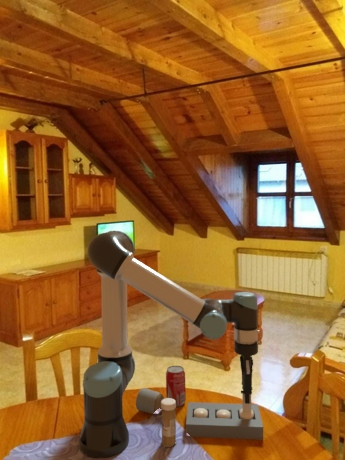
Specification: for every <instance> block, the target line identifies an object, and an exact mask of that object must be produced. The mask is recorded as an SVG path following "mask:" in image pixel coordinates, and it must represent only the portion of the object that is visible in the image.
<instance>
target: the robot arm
mask: <svg viewBox="0 0 345 460" xmlns="http://www.w3.org/2000/svg"><path fill="white" fill-rule="evenodd" d="M86 252H87V257H88V260H89V262H90V264H91V265H92V266H93V267H95V268H94V269H96V273H97V274H98V275H99V276H100V280H101V281H100V283H101V285H100V286H101V291H100V292H101V347H99V348H98V349H97V362H96V363H95V364H91V365H90V366H88V367H87V368H86V370H85V372H84V374H83V380H82V388H83V412H84V414H83V415H84V418H83V419H84V420H83V424H82V427H81V431H80V435H79V440H78V441H79V442H78V444H79V449H80V451H81V453H82V454H84V455H86V456H87V457H91V458H98V459H100V458H101V459H103V458H109V457H112V456H116V455H117V454H119V453H121V452H123V451H124V450H125V449H126V448H127V447H128V445H129V443H130V434H129V433H130V432H129V429H128V426H127V424H126V421H125V418H124V415H123V413H124V411H123V409H124V407H123V406H124V405H123V396H124V393H125V391H126V389H127V387H128V385H129V384H130V382H131V380H132V379H133V377H134V374H135V370H136V362H135V359H134V356H133V349H132V347H131V346H130V345H129V343H128V285H129V286H131V287H132V288H133V289H135V290H137V291H139V292H140V293H142V294H144V295H145V296H147V297H148V298H150V299H151V300H153V301H155V302H156V303H158V304H160V305H162V306H163V307H165V308H166V309H167V310H170V311H171V312H173V313H175V314H176V315H177V316H179V317H181V318H182V319H184V320H186V321H187V322H189V323H190V324H192V325H193V326H195V327H197V328H198V329H199V330H200V332H201V333H202V334H203V336H204V337H205V338H206V339H210V340H217V339H220V338H222V337H223V336H224V335H225V332H226V331H227V327H228V323H233V324H234V326H233V339H234V344H233V345H234V352H235V353H236V354H237V355H240V356H239V362H240V370H241V371H240V372H241V385H242V387H241V389H242V390H241V391H240V394H242V395H241V397H242V398H241V399H242V404H243V412H251V404H252V394H253V391H252V390H253V371H254V370H253V366H254V359H253V356H255V355H257V354H258V352H259V342H258V340H259V339H258V337H259V334H260V332H261V331H260V330H258V329H259V328H258V326H259V324H258V318H259V317H258V315H259V311H258V309H259V307H258V297H257V295H256V294H255V293H253V292H250V291H241V292H240V291H239V292H235V293H234V294H233V298H226V299H225V298H204V299H203V298H201V297H198V296H197V295H195V294H194V293H192V292H190V291H189V290H187V289H186V288H184V287H183V286H181V285H179V284H178V283H175V282H174V281H172V280H171V279H170V278H168V277H167V276H164V275H163V274H161V273H159V272H157V270H155V269H152V268H151V267H150V266H148V265H146V264H145V263H143V262H142V261H139V260H138V259H137V258H135V257H134V254H135V253H134V252H135V243H134V242H133V239H132V237H130V235H128V233H126V232H124V231H120V230H110V231H107V232H102V233H99V234H97V235H95V236H94V237H92V239H91V240H90V241H89V243H88V246H87V251H86Z"/></svg>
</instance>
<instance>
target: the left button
mask: <svg viewBox="0 0 345 460" xmlns="http://www.w3.org/2000/svg"><path fill="white" fill-rule="evenodd" d="M194 417H200V418H208V411H207V410H206V409H203V408H198V409H195V410H194Z"/></svg>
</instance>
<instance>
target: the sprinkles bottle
mask: <svg viewBox="0 0 345 460" xmlns="http://www.w3.org/2000/svg"><path fill="white" fill-rule="evenodd" d="M176 408H177V407H176V401H175V400H174V399H172V398H165V397H164V399H163V400H162V401H161V409H162V411H161V445H162V446H163V447H165V448H172V447H174V446H175V445H176V444H175V442H176V443H177V438H176V437H177V436H176V435H177V434H176V433H177V428H176V427H177V421H176V420H177V417H176ZM174 444H175V445H174ZM173 445H174V446H173ZM171 446H172V447H171Z"/></svg>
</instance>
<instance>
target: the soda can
mask: <svg viewBox="0 0 345 460" xmlns="http://www.w3.org/2000/svg"><path fill="white" fill-rule="evenodd" d="M165 387H166V388H165V389H166V390H165V391H166V392H165V394H166V395H165V397H166V398H172V399H174V400H175V401H176V408H177V407H178V408H179V407H181V406H183V405H184V404H185V403H186V400H187V398H186V397H187V396H186V395H187V394H186V372H185V369H184V367H183V366H182V365H171V366H168V367H167V368H166V372H165Z"/></svg>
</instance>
